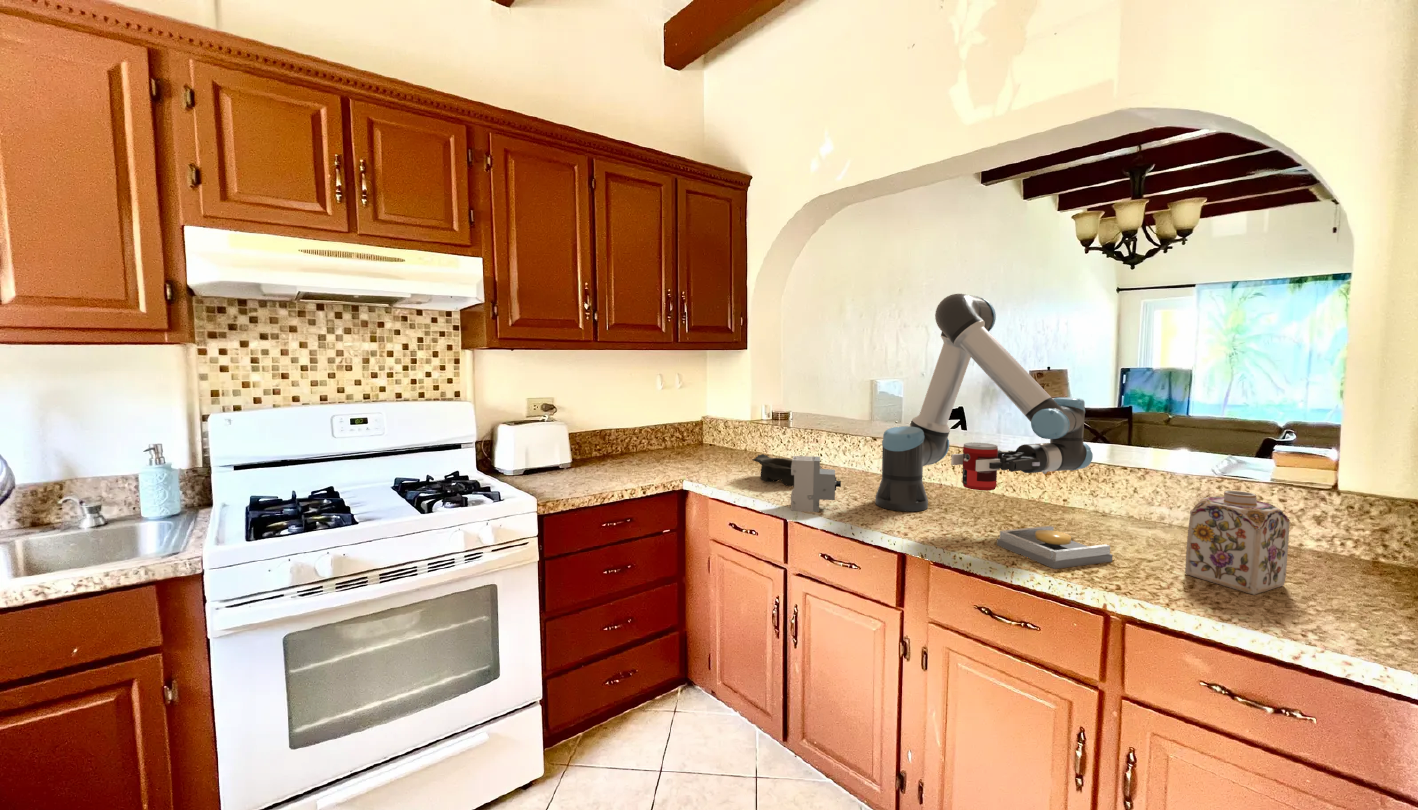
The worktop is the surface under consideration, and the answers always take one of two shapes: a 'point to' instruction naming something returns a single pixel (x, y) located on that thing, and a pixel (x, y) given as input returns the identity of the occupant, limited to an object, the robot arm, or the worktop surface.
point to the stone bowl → (776, 469)
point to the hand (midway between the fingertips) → (964, 462)
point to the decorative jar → (1238, 542)
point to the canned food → (970, 475)
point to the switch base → (1059, 556)
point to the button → (1053, 538)
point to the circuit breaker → (811, 484)
